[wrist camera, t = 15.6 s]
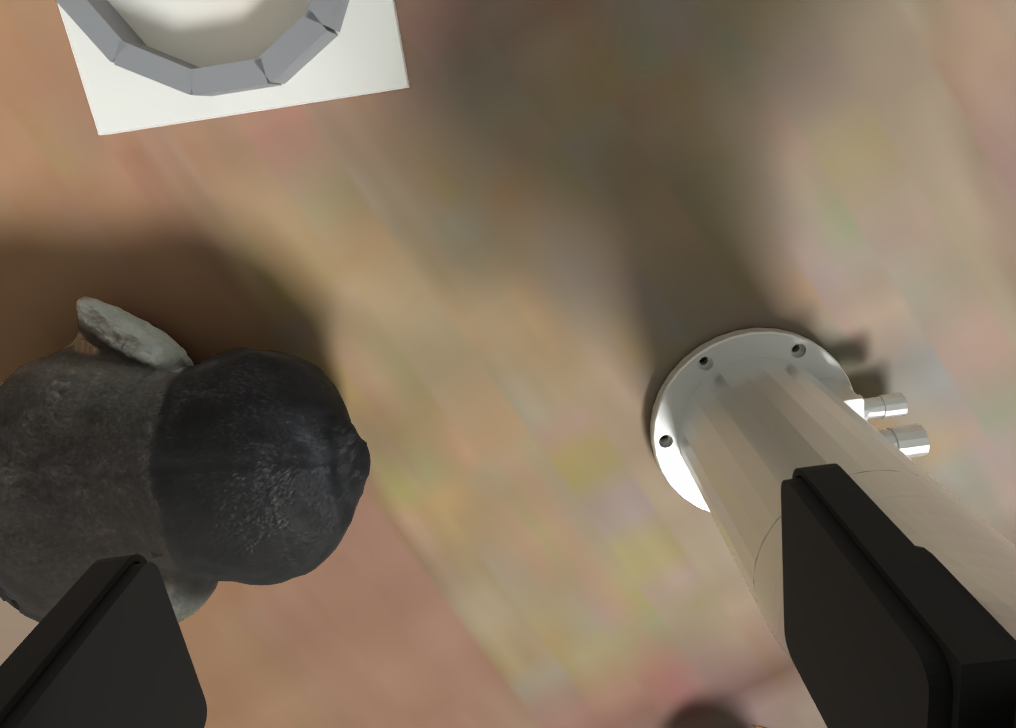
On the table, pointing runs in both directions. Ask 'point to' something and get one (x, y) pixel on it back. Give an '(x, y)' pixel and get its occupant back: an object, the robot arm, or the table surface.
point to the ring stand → (227, 56)
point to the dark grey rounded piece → (169, 464)
